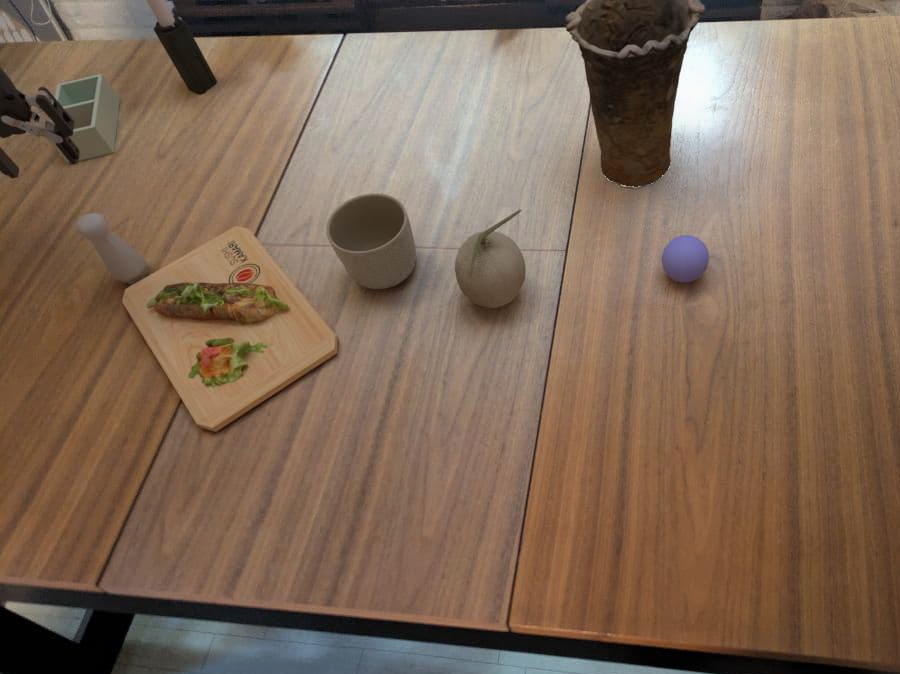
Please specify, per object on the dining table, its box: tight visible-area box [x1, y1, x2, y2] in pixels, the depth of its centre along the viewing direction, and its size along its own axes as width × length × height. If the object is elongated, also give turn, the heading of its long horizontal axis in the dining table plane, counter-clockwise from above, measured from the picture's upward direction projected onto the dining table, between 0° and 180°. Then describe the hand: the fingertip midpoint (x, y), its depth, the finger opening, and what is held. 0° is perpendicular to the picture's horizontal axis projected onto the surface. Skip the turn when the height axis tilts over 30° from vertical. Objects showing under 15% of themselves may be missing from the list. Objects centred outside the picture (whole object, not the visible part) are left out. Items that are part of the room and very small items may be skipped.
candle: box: [145, 0, 218, 95], centre depth 136 cm, size 5×5×25 cm
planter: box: [325, 192, 417, 290], centre depth 111 cm, size 12×12×11 cm
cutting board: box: [121, 225, 339, 433], centre depth 109 cm, size 35×23×8 cm
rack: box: [47, 73, 121, 165], centre depth 140 cm, size 9×17×6 cm, turn 14°
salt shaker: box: [76, 212, 149, 285], centre depth 115 cm, size 6×6×13 cm
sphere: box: [661, 234, 710, 283], centre depth 106 cm, size 7×7×7 cm
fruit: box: [454, 208, 527, 309], centre depth 104 cm, size 10×12×15 cm
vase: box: [564, 0, 706, 187], centre depth 112 cm, size 18×18×27 cm
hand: (46, 167), depth 100 cm, fingers open, 8 cm apart
